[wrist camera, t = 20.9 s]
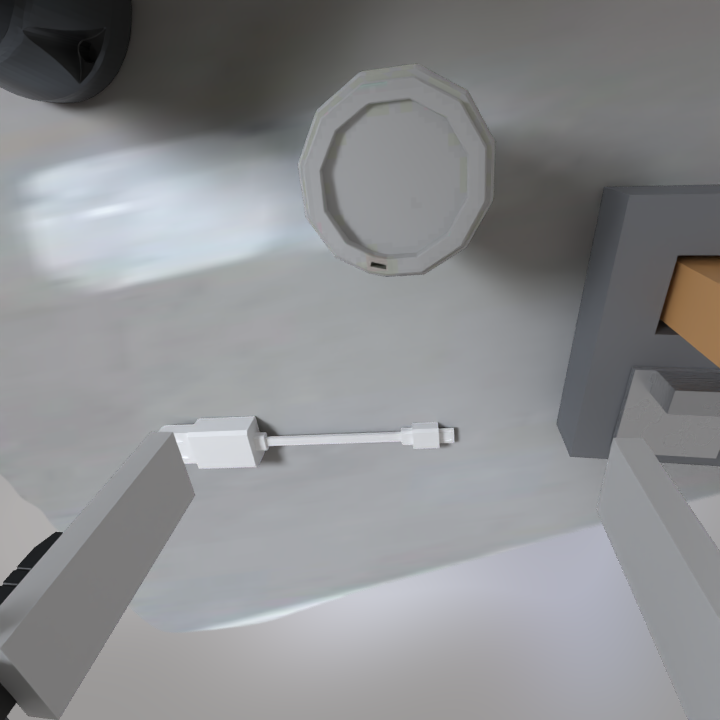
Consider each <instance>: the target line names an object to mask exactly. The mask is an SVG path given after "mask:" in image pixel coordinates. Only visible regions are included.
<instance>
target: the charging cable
mask: <svg viewBox="0 0 720 720" xmlns="http://www.w3.org/2000/svg"><path fill="white" fill-rule="evenodd" d="M158 432H173V433H174V436H175V439H176V442H177V445H178V448H179V450H180V453H181V456H182V459H183V462H184V464H191V463H197V465H198V468H199V469H216V468H253V467H258V466H259V464H260V462H261V460H262V458H263V456H264V453H265V451H266V450H268V449H269V446H283V445H312V444H342V443H371V442H400V441H402V445H413V449H436V448H440V446H439V443H454V428H438V422H423V423H412V428H401V432H378V433H351V434H325V435H298V436H271V437H268V436H267V433H266V432H260V431H259V427H258V424H257V420H256V416H246V417H224V418H201V419H198V420H197V421H196V422H195V424H187V425H164V426H163V427H162V428H161V429H160V430H159V431H158Z"/></svg>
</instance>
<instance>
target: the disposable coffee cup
mask: <svg viewBox="0 0 720 720" xmlns="http://www.w3.org/2000/svg"><path fill="white" fill-rule="evenodd" d="M494 169H495V140H494V138H493V136H492V134H491V133H490V131H489V129H488V127H487V125H486V123H485V121H484V120H483V118H482V116H481V114H480V112H479V110H478V108H477V107H476V105H475V103H474V101H473V99H472V97H471V95H470V94H469V92H468V90H466V89H464V88H462V87H461V86H459V85H457V84H455V83H453V82H451V81H449V80H447V79H445V78H444V77H442V76H440V75H438V74H436V73H434V72H432V71H430V70H428V69H427V68H425V67H423V66H421V65H419V64H410V65H403V66H395V67H388V68H381V69H374V70H366V71H360V72H359V73H358V74H357V75H356V76H355V77H353V78H352V79H351V80H350V81H349V82H348V83H347V84H346V85H344V86H343V87H342V88H341V89H340V90H339V91H338V92H336V93H335V94H334V95H333V96H332V97H331V98H330V99H328V100H327V101H326V102H325V103H324V104H323V105H322V106H321V107H319V108H318V109H317V110H316V112H315V115H314V118H313V121H312V124H311V127H310V130H309V133H308V136H307V139H306V142H305V145H304V148H303V150H302V153H301V156H300V159H299V162H298V170H299V176H300V183H301V189H302V196H303V203H304V209H305V216H306V218H307V220H308V221H309V222H310V224H311V225H312V227H313V228H314V229H315V231H316V232H317V233H318V235H319V236H320V238H321V239H322V240H323V242H324V243H325V244H326V246H327V247H328V249H329V250H330V251H331V253H332V254H333V255H334V257H335V258H338V259H340V260H342V261H344V262H346V263H348V264H350V265H352V266H354V267H356V268H358V269H361V270H363V271H365V272H367V273H369V274H374V275H380V276H385V277H392V276H407V275H422V274H426V273H427V272H429V271H430V270H432V269H433V268H435V267H437V266H438V265H440V264H441V263H443V262H444V261H446V260H448V259H449V258H451V257H452V256H454V255H455V254H457V253H459V252H460V251H462V250H463V249H465V248H466V247H467V245H468V244H469V242H470V240H471V238H472V237H473V235H474V233H475V231H476V230H477V228H478V226H479V224H480V223H481V221H482V219H483V217H484V216H485V214H486V212H487V210H488V209H489V207H490V205H491V203H492V202H493V199H494Z"/></svg>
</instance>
